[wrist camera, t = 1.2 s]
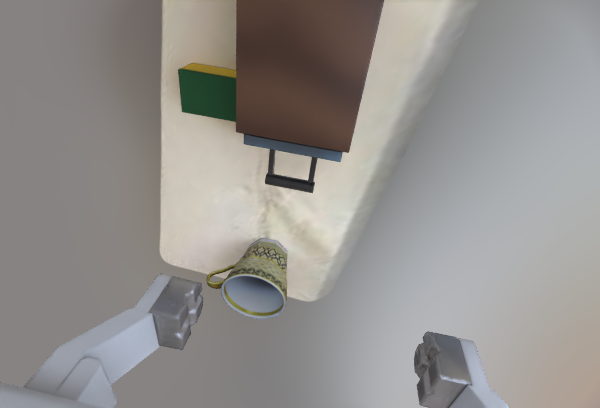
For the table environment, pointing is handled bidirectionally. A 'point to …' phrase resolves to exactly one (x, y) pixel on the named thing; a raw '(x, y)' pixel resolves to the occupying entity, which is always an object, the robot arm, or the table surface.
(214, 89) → the sponge
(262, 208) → the table surface
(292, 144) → the drawer
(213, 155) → the table surface
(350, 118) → the cabinet
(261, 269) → the ceramic cup
